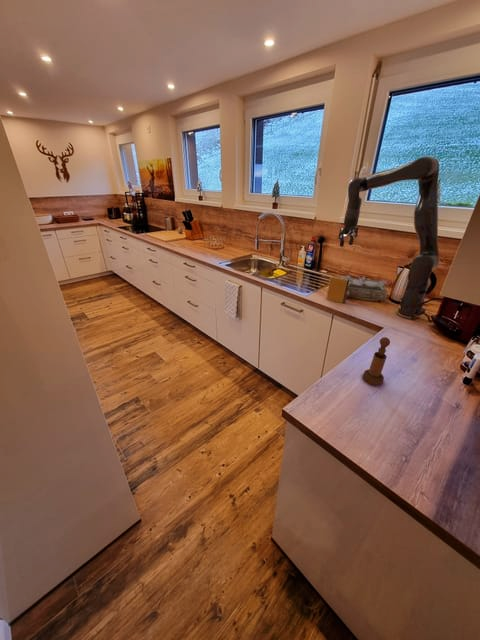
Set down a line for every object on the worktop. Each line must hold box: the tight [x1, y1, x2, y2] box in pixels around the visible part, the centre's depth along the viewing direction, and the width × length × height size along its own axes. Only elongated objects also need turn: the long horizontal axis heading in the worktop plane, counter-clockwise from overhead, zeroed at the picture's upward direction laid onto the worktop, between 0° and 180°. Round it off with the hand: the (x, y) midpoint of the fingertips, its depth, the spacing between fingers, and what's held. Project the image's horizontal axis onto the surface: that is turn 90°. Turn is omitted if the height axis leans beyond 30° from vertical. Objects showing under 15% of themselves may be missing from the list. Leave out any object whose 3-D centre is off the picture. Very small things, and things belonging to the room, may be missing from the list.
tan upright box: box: [326, 275, 350, 304], centre depth 154 cm, size 10×3×14 cm, turn 58°
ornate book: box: [340, 274, 390, 303], centre depth 163 cm, size 23×10×30 cm
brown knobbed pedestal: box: [362, 336, 391, 387], centre depth 91 cm, size 7×6×18 cm
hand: (346, 245), depth 158 cm, fingers open, 8 cm apart
